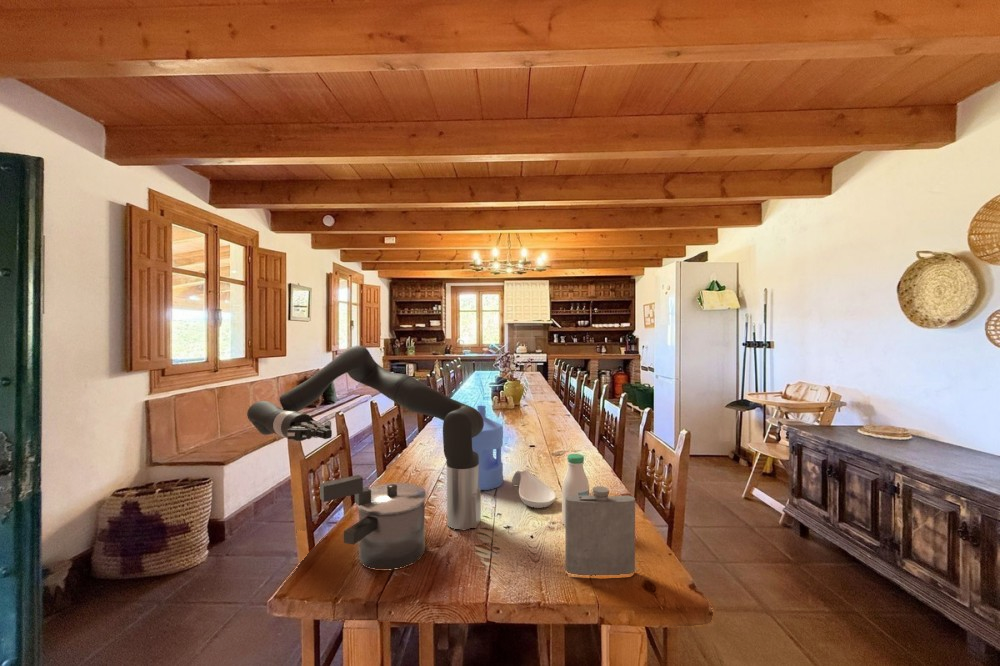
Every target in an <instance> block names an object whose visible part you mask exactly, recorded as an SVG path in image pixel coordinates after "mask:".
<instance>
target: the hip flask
mask: <svg viewBox="0 0 1000 666" xmlns="http://www.w3.org/2000/svg"><path fill="white" fill-rule="evenodd" d="M592 493H593V494H591V495H590V494H589V495H586V496H567V497H566V498H565V527H564V530H565V535H564V536H565V539H564V540H565V545H564V546H565V552H564V554H565V556H564V557H565V558H564V559H565V560H564V561H565V566H564V567H565V570H566V571H567V572H568V573H571V574H578V575H590V576H592V575H595V576H596V575H620V574H630V573H633V572H635V573H636V498H635V496H631V495H616V496H609V494H610V489H609V488H608V487H605V486H594V487H593V488H592Z"/></svg>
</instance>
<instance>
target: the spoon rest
mask: <svg viewBox="0 0 1000 666" xmlns="http://www.w3.org/2000/svg"><path fill="white" fill-rule="evenodd" d="M512 485H519V486H518V495H519V498H520V499H521V501H522V502H523V504H525V505H526V506H528V507H530V508H533V507H534V509H543V507H544V508H547V507H549V506H550V505H552V504H553V503H554V502H555V500H557V494H556V491H555V490H553V488H551V487H550V486H549V485H548V484H546V483H545V482H543V481H542V480H541V479H540V478H538V477H536V475H534V474H533V473H531V472H530V471H529V470H521V471H520V470H518V471H515V473H514V474H513V476H512V479H511V486H512Z"/></svg>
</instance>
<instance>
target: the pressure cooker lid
mask: <svg viewBox="0 0 1000 666" xmlns="http://www.w3.org/2000/svg"><path fill="white" fill-rule="evenodd" d="M426 493H427V492H426V489H425V488H424V487H423V486H421V485H418V484H416V483H412V482H411V483H410V482H391V483H390V482H388V483H382V484H378V485H374V486H371V487H368V486H365V487H364V478H363V476H362V475H360V474H355V475H351V476H347V477H343V478H342V477H341V478H339V479H334V480H329V481H326V482H325V481H323V482H321V483H319V499H320V500H321V501H322V503H325V502H330V501H333V500H337V499H343V498H346V497H349V496H350V497H351V496H354V503H355V504H356V505H357V508H358V510H359V509H360V510H361V511H363V512H365V513H369V514H374V515H393V514H399V513H404V512H408V511H411V510H413V509H416V508H418V507H419V506H421V505H422V504H423V503H424V502H425V501H426V499H427V497H426V496H427V495H426Z"/></svg>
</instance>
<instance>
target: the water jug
mask: <svg viewBox="0 0 1000 666" xmlns="http://www.w3.org/2000/svg"><path fill="white" fill-rule="evenodd" d="M476 407H477V409H476V410H477V411H478V412H479V413H480V414H481V416H482V418H483V421H484V426H483V429H482V431H481V432H480V433H479V434H478V435H477V436H475V437H473V438H472V449H473V451H474V452H476V453H477V454H478V456H479V488H481V490H484V491H489V490H490V489H491V490H494V488H495V489H497V488H499V487H501V486H502V485H503V483H504V469H503V468H504V466H503V465H504V464H503V462H502V446H503V445H504V444H503V443H504V442H503V439H504V431H503V429H504V428H503V425H502V424H501V423H500V422H498V421H497V422H496V421H494V420H493V419H490V418H488V417H487V414H486V412H487V410H486V408H487V406H486V405H478V406H476ZM494 450H495V452H496V453H495V454H496V455H495V457H494ZM491 490H490V491H491Z"/></svg>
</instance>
